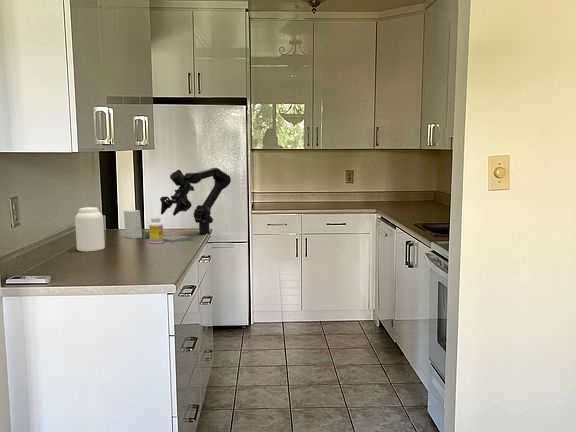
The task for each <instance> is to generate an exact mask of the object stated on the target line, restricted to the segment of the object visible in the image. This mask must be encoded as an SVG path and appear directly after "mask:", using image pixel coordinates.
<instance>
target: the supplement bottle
mask: <svg viewBox="0 0 576 432" xmlns="http://www.w3.org/2000/svg"><path fill="white" fill-rule="evenodd" d="M161 219H162V218H161V217H159V216H153V217H150V221H151V222H149V225H148V226H149V227H148V228H149V231H148V232H150V239H149V243H150V244H153V245H154V244H157V245H158V244H163V243H164V241H163V237H164V224H163V222H161Z"/></svg>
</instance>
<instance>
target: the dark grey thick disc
mask: <svg viewBox="0 0 576 432" xmlns="http://www.w3.org/2000/svg"><path fill="white" fill-rule="evenodd" d="M144 234H145V235H144V237H145V239H146V240H150V231H146V232H145V233H144Z"/></svg>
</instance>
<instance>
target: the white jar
mask: <svg viewBox="0 0 576 432" xmlns="http://www.w3.org/2000/svg"><path fill="white" fill-rule="evenodd" d="M74 221H75V223H74V225H75V226H74V227H75V238H76V249H77V251H79V252H82V253H83V252H85V253H86V252H97V251H101V250H104V249H105V247H106V244H105V227H104V216H103V213H101V211H99V207H95V206H89V207H81V208H79V209H78V213H77V214H76V215H75V218H74Z"/></svg>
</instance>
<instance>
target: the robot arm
mask: <svg viewBox="0 0 576 432" xmlns="http://www.w3.org/2000/svg"><path fill="white" fill-rule="evenodd" d="M169 175H170V176H169V178H170V180H171V181H172V182H173V183H174V184H175V186H176V187H178V188H177V189H174V192H175V193H174V194H173V195H171V196H170V197H169V196H161V197H160V198H159V201H160V202H161V203H160V204H161V206H160V214H161V215H163V214H165V212H167V210H168V209H171V208H172V206H173V205H174V204H175V207H174V210H173V213H172V216H173V217H174V216H176V215H178V213H180V212H187V211H188V210H190V209H191V207H192V202H191V201H190V200H189V198H188V194H189V193H190V192H193V191H195V188H194V184H195V185H196V184H198V183H200V182H201V181H202V180H205V179H207V178H211V177H212V179H213V180H214V181H213V182H214V186H213V187H212V189H211V190H210V192H209V194H208V196H207V197H206V199H205V200H204V202H203V204H201V205H200V204H198V205H196V208H195V209H194V210H193V211H194V212H193V219H194V221H195V223H197V224H198V232H197V233H198V235H211V231H210V230H211V229H210V224H212V223H213V222H214V218H213V217H212V216H211V209H212V207H213V205H215V202H216V201H217V199H218V198H219V196H220V194H221V193H222V191H223V190H224V189H226V188H227V187H228V186H229V185H230V184H231V182H232V181H231V176H230V175H229V174H227V173H226V172H224V171H222V170H221V169H220V168H218V167H212V168H210V169H206V170H202V171H198V172H186V173H183V172H182V170H180V169H176V171H174V172H172V173H171V174H169ZM191 184H192V185H191Z"/></svg>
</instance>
